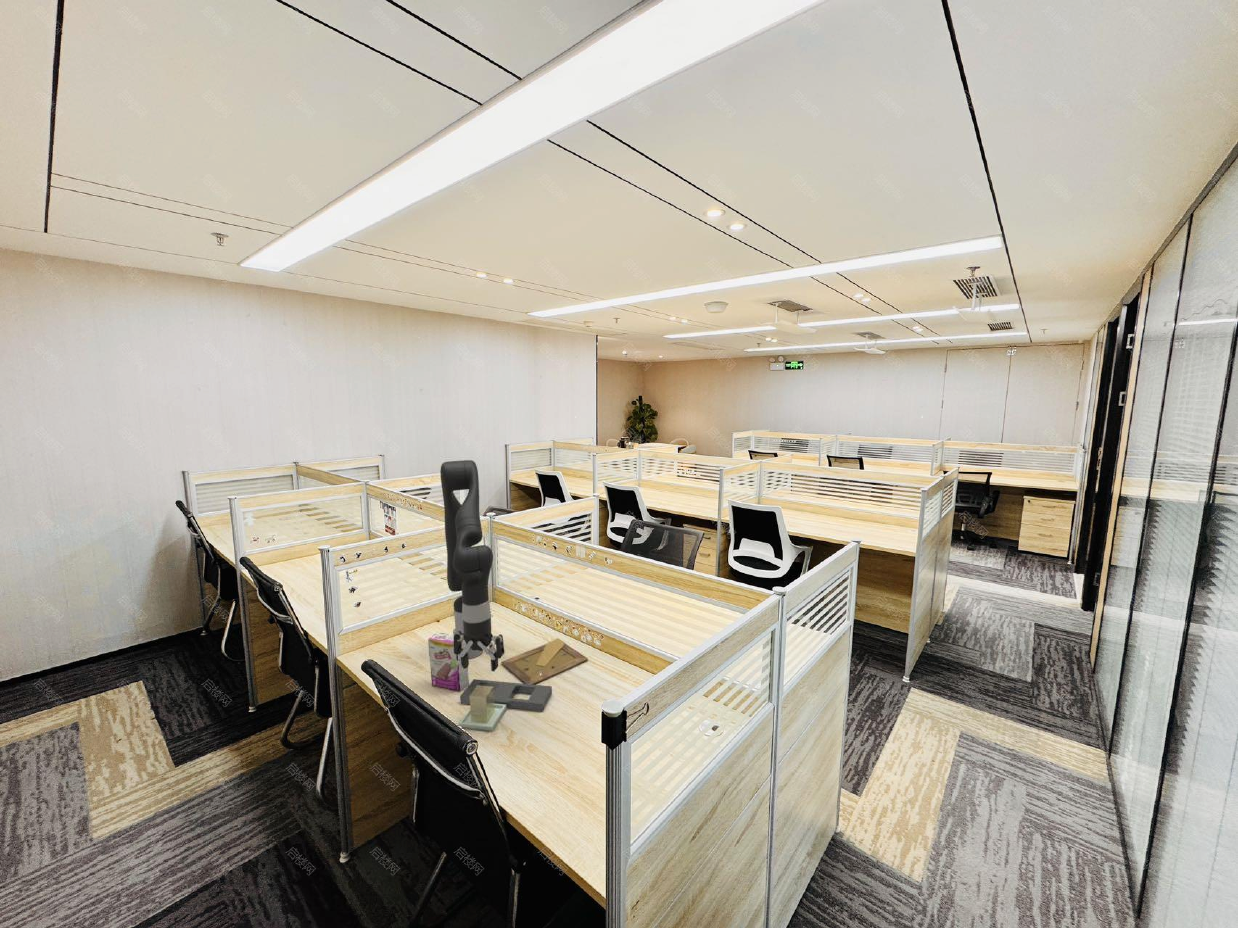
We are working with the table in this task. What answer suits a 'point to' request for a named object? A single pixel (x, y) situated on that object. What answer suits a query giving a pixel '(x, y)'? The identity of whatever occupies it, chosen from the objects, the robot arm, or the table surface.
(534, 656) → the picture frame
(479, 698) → the tan square peg
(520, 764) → the table surface
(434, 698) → the table surface
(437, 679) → the candy bar box
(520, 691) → the board with square holes
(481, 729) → the tray
